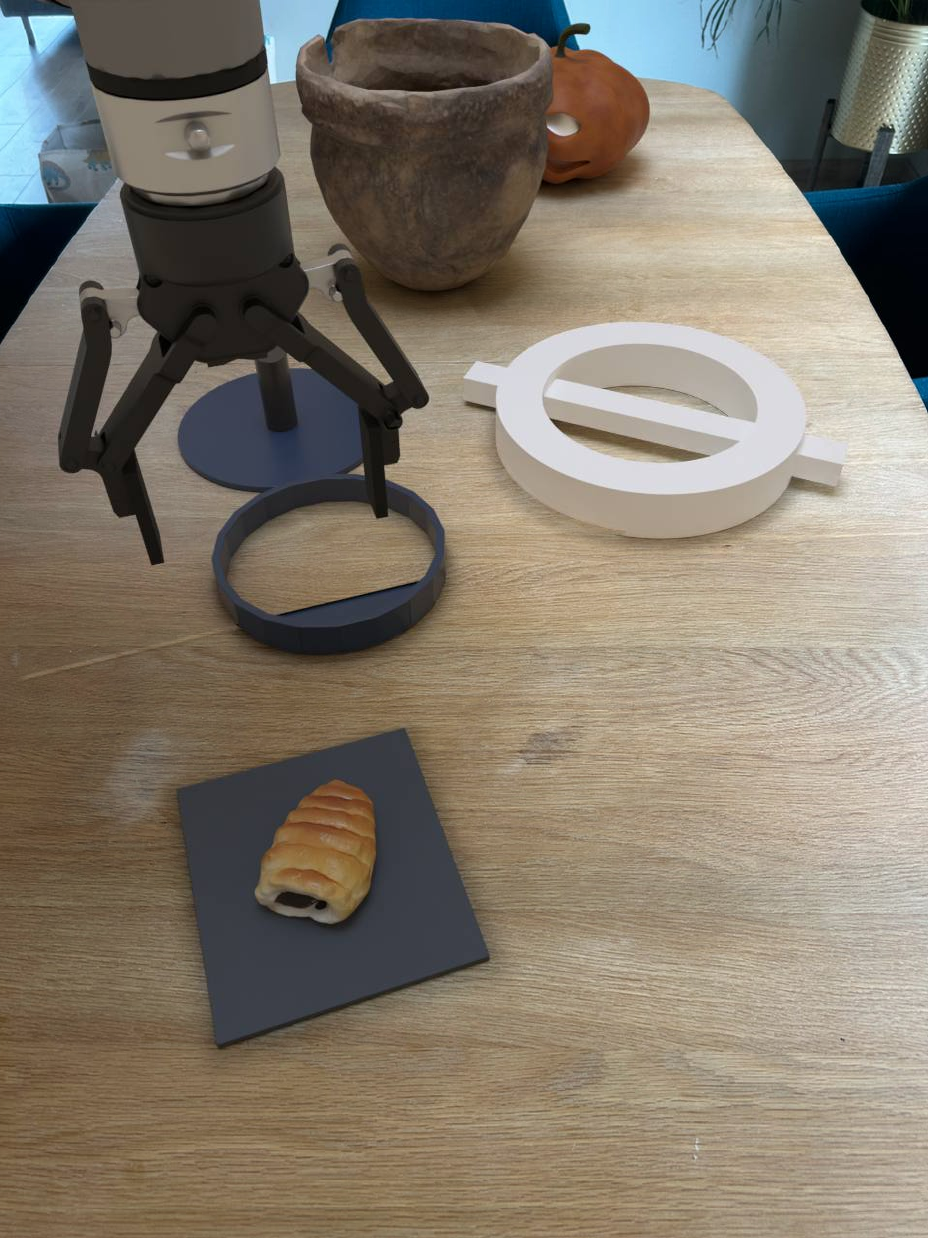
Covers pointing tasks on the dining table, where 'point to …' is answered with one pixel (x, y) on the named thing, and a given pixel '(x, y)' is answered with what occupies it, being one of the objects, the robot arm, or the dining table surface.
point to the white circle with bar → (652, 428)
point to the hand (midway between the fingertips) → (269, 527)
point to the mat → (300, 946)
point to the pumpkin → (591, 112)
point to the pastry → (321, 856)
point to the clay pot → (428, 141)
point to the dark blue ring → (339, 620)
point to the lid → (271, 428)
